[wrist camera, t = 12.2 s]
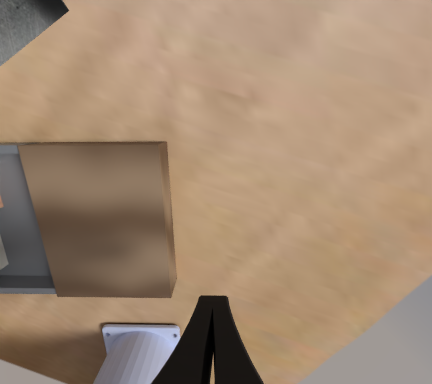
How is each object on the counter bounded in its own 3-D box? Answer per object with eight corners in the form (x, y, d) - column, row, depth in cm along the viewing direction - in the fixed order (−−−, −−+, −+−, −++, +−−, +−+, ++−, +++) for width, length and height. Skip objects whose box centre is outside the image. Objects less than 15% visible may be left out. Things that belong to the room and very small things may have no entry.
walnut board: (176, 278, 22) (171, 298, 19) (75, 277, 22) (57, 296, 20) (166, 141, 18) (158, 144, 16) (44, 142, 18) (17, 145, 16)
